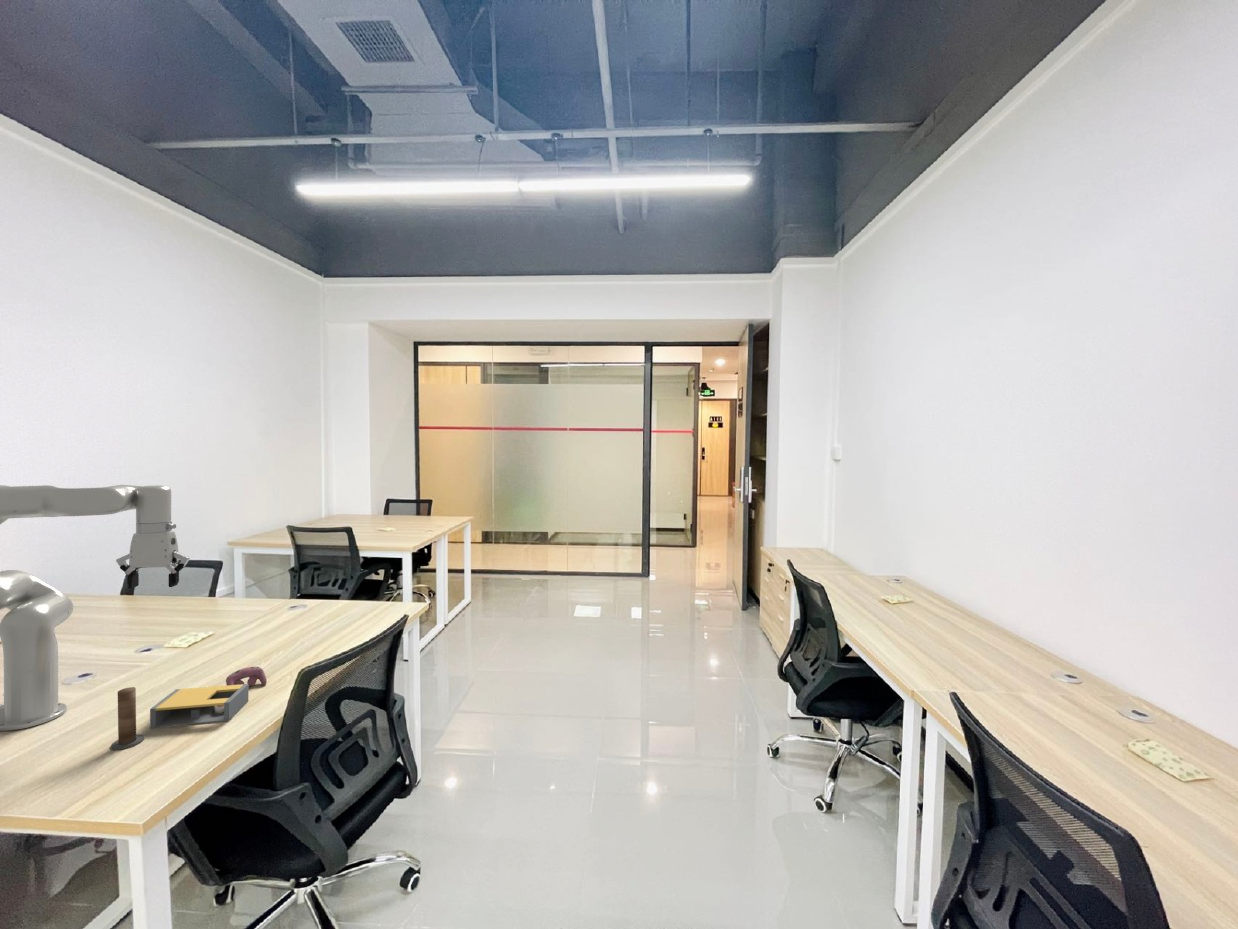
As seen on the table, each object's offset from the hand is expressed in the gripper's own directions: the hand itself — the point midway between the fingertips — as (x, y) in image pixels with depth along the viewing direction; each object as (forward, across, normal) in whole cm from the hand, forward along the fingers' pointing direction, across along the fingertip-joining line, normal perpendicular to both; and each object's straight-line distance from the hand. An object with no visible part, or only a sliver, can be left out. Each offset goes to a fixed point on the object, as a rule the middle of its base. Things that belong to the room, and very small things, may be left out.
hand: (153, 586), depth 146 cm
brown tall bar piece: (+33, -8, +24) cm, 42 cm away
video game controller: (+34, -22, -3) cm, 41 cm away
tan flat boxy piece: (+33, -18, +12) cm, 40 cm away
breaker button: (+33, -23, +12) cm, 42 cm away
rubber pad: (+33, -8, +24) cm, 42 cm away
